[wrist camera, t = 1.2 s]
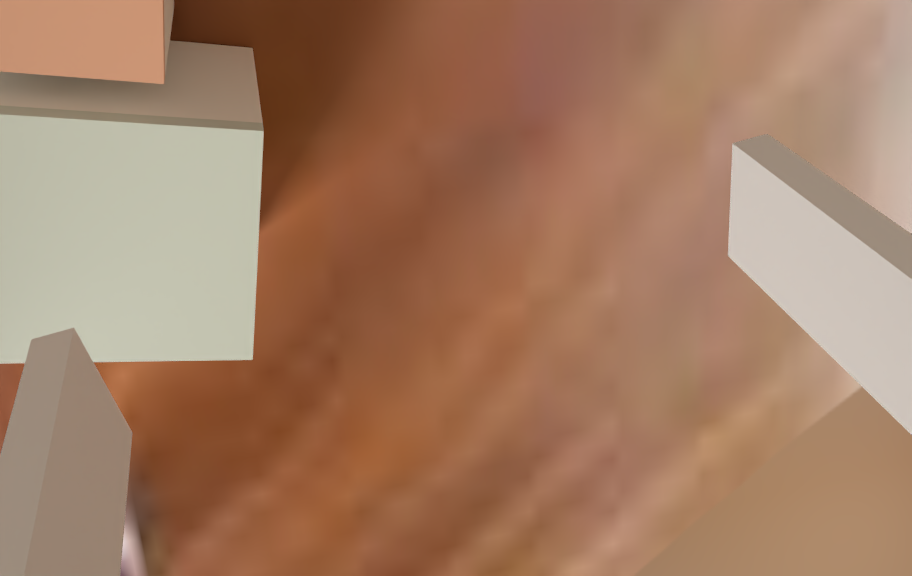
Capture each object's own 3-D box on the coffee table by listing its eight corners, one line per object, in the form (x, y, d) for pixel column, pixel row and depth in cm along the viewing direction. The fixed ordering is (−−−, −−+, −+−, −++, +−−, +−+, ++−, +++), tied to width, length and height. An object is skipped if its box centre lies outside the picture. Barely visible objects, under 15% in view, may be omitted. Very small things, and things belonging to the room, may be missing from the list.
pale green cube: (24, 239, 36) (-22, 363, 29) (-1, 24, 31) (-64, 110, 24) (244, 244, 38) (252, 360, 31) (252, 47, 34) (263, 131, 27)
